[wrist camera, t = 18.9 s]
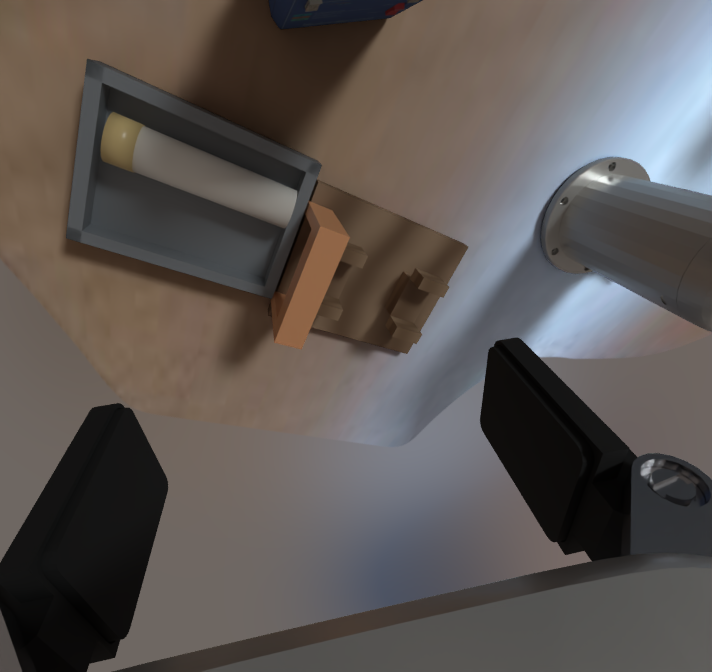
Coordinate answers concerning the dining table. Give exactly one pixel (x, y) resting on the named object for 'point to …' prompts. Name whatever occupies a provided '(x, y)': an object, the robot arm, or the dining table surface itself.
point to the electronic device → (333, 11)
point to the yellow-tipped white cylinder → (194, 171)
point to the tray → (172, 205)
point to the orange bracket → (309, 277)
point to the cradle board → (378, 272)
